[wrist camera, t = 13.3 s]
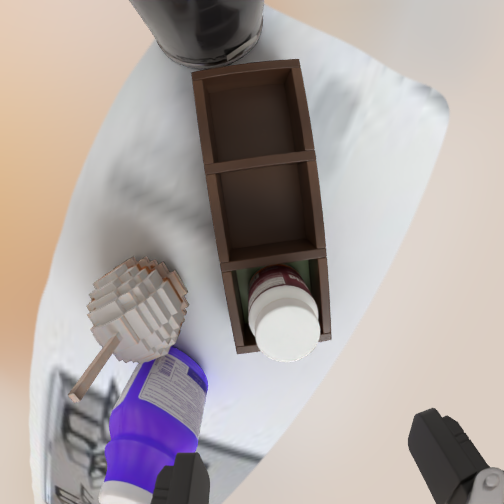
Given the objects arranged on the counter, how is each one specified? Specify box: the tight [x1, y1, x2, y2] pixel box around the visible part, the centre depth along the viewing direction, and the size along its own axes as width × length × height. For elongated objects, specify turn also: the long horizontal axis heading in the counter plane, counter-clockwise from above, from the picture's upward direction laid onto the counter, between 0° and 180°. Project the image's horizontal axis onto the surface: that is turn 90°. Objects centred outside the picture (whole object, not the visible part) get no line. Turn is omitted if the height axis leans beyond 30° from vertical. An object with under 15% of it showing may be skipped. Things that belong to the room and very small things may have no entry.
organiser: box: [191, 59, 331, 354], centre depth 23 cm, size 21×8×5 cm, turn 8°
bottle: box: [98, 346, 208, 504], centre depth 21 cm, size 7×6×17 cm
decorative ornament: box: [68, 257, 189, 403], centre depth 20 cm, size 8×8×15 cm
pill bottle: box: [248, 263, 320, 362], centre depth 22 cm, size 5×5×8 cm
